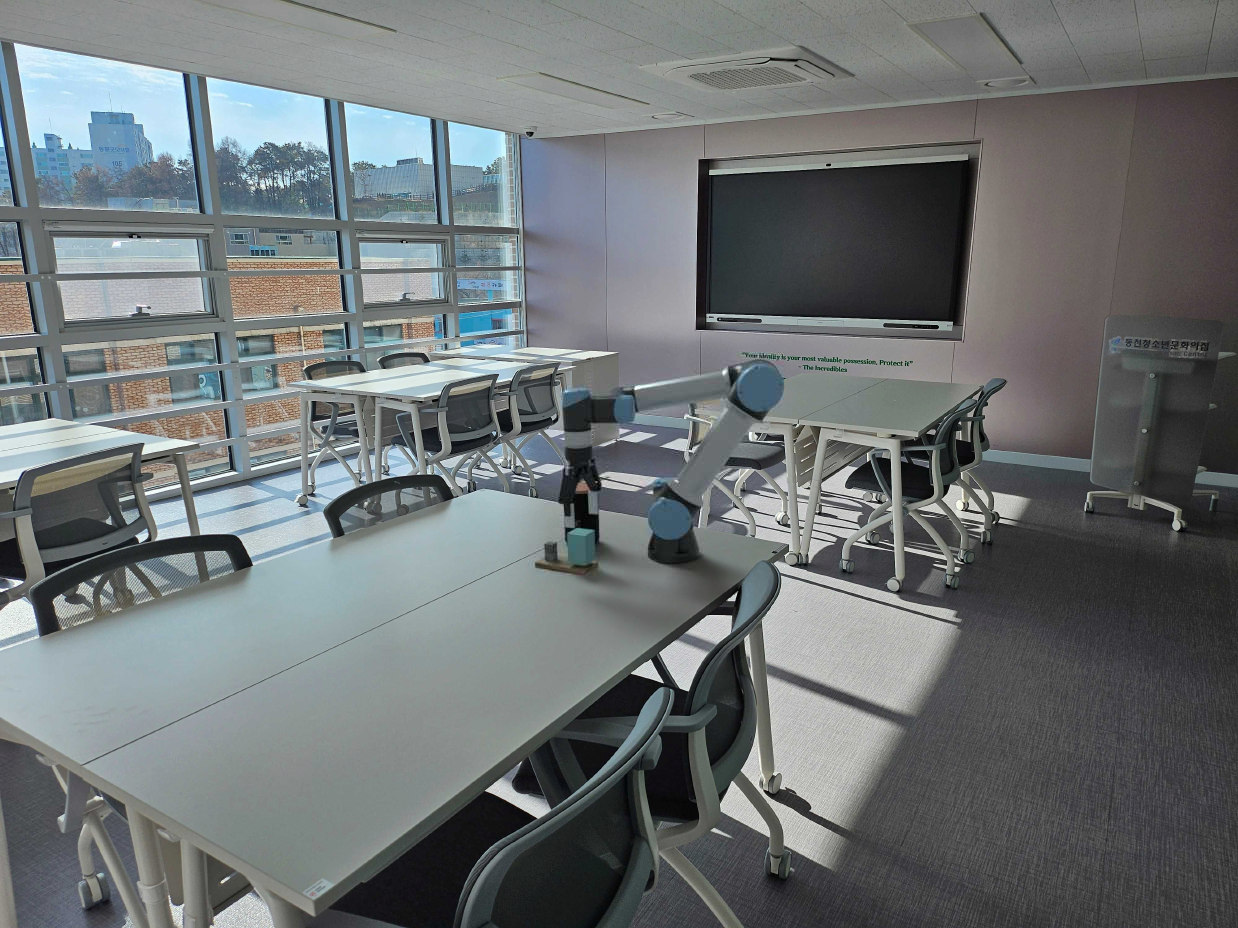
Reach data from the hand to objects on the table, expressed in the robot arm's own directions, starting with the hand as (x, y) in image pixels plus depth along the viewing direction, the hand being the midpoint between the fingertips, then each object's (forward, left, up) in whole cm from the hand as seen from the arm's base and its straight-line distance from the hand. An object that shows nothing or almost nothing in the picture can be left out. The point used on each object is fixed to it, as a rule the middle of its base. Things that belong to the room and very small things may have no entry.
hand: (582, 520), depth 231 cm
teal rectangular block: (0, 0, -12) cm, 12 cm away
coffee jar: (-20, -11, -14) cm, 27 cm away
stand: (0, -5, -14) cm, 15 cm away
